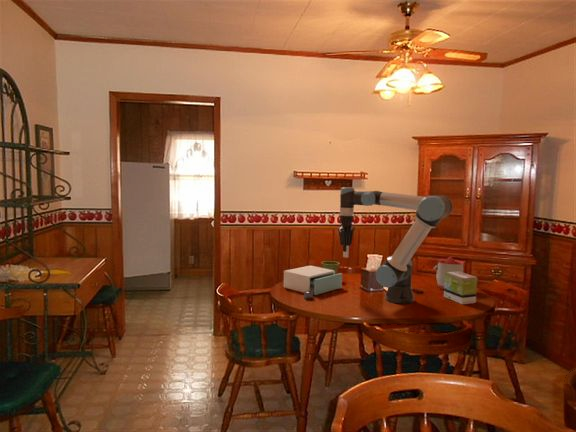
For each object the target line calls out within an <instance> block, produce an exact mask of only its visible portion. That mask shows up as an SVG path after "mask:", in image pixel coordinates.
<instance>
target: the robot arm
mask: <svg viewBox="0 0 576 432" xmlns="http://www.w3.org/2000/svg"><path fill="white" fill-rule="evenodd" d="M339 196H340V197H339V198H340V199H339V201H340V207H339V215H340V216H339V222H340V227H338V228H337V231H338V235H339V245H341V246H342V253H343V254H342V257H343V258H349V257H350V256H349V255H350V254H349V253H350V246H351V245H352V243H353V238H354V233H355V232H354V231H355V228H356V227H355V226H353V224H352V223H354V212H355V210H354V209H355V206H364V207H365V206H366V207H369V206H374V205H376V206H383V207H384V206H385V207H391V208H397V209H404V210H405V209H406V210H412V211H416V213H415V219H414V222H413V223H412V225H411V226H410V228H409V230H407V232H406V234H405V235H404V237H403V239H402V240H401V242H400V243H399V245H398V246H397V248H396V249H395V250H394V253H393V254H392V255H390V256H387V257H386V260H384V262H383V263H382V264H381V265H380V266H378V267H377V269H376V270H375V278H376V281H377V283H378V284H379V285H380V286H382V287H384V288H387V291H386V292H385V300H386V301H388V302H390V303H393V304H405V305H406V304H412V303H414V302H415V301H414V299H415V296H414V293H413V288H412V276H413V261H412V260H411V259H412V258H413V256H414V255H415V254H416V252H417V250H418V249H419V247H420V246H421V245H422V243H423V242H424V240H425V239H426V237H427V236H428V234H429V232H430V231H431V229H436V228H437V226H438V225H439V224H440V223H441V221H442V220H443V219H444V218H448V217H449V216H450V215H451V214H452V212H453V208H454V207H453V202H452V200H451V199H450V198H449V197H448V196H445V195H440V194H439V195H428V196H421V195H411V194H402V193H394V192H387V191H386V192H385V191H379V190H371V191H365V190H364V191H361V190H360V191H358V190H357V191H356V190H355V188H354V187H347V186H346V187H341V188H340V195H339Z"/></svg>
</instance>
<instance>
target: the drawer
mask: <svg viewBox="0 0 576 432" xmlns="http://www.w3.org/2000/svg"><path fill="white" fill-rule="evenodd" d="M310 279H313V278H310ZM342 287H343V273H342V272H341V273H337V274H335V275H331V276H327V277H323V278H319V279H315V280H314V285H311V284H310V291H312V292H314V293H313V296H317V295H320V294H324V293H328V292H330V291H334V290H338V289H341V288H342Z"/></svg>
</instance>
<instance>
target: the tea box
mask: <svg viewBox="0 0 576 432" xmlns="http://www.w3.org/2000/svg"><path fill="white" fill-rule="evenodd" d="M477 289H478V276H474V275H471V274H468V273H465V272H463V273H462V272H459V271H456V272H445V284H444V290H443V297H444V298H445V299H449V300H452V301H453V302H456V303H458V304H460V305H469V304H475V303H476V302H477V292H478V291H477Z"/></svg>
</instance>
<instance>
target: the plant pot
mask: <svg viewBox="0 0 576 432" xmlns="http://www.w3.org/2000/svg"><path fill="white" fill-rule="evenodd" d="M320 263H321V264H322V265H321V266H322V268H325V269H330V270H334V271H335V274H338V269H339V266H340V264H341V263H340V262H338V261H333V260H332V261H331V260H328V261H327V260H326V261H321V262H320Z"/></svg>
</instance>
